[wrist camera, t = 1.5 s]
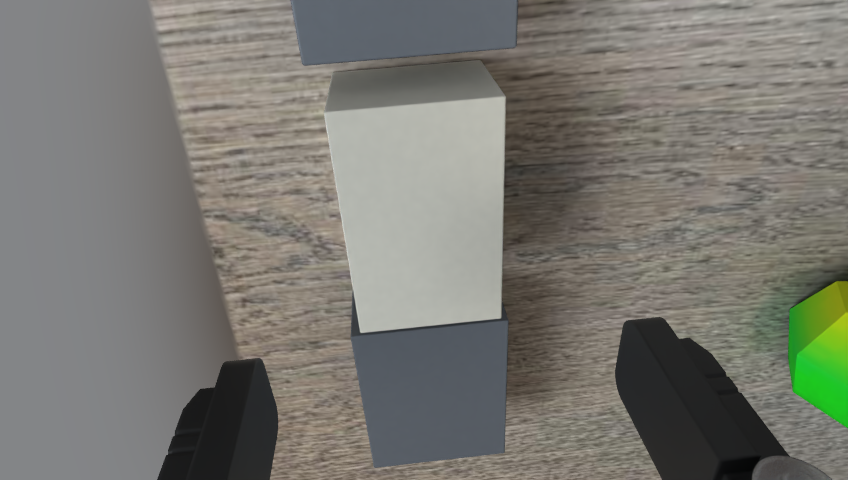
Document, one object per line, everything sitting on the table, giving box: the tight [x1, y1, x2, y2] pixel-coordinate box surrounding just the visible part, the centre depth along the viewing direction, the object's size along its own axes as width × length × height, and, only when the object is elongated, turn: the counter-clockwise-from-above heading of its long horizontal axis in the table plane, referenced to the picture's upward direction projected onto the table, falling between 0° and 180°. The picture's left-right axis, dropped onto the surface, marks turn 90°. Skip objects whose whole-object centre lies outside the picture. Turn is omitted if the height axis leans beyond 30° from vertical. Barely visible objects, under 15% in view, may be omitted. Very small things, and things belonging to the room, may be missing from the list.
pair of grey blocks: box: [291, 0, 518, 468], centre depth 19 cm, size 26×6×3 cm, turn 3°
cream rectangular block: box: [324, 60, 506, 333], centre depth 19 cm, size 8×5×4 cm, turn 4°
